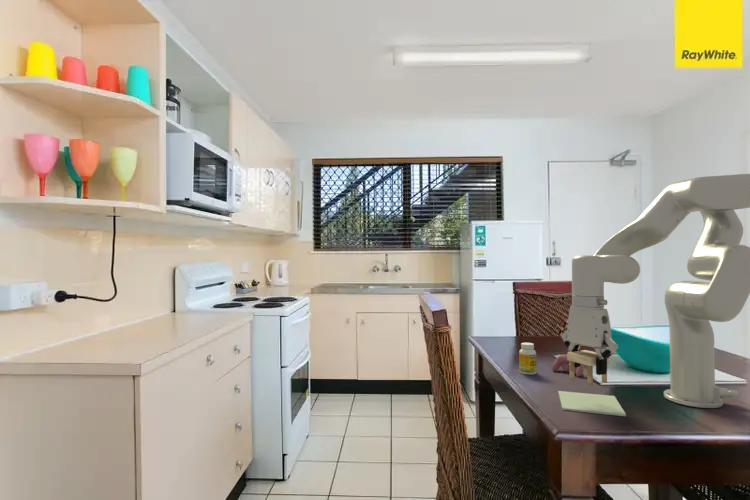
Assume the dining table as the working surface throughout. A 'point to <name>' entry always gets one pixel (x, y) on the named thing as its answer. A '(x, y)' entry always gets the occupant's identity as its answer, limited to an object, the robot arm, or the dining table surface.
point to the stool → (588, 360)
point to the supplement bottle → (527, 359)
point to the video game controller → (567, 365)
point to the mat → (590, 403)
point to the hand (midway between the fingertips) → (588, 369)
